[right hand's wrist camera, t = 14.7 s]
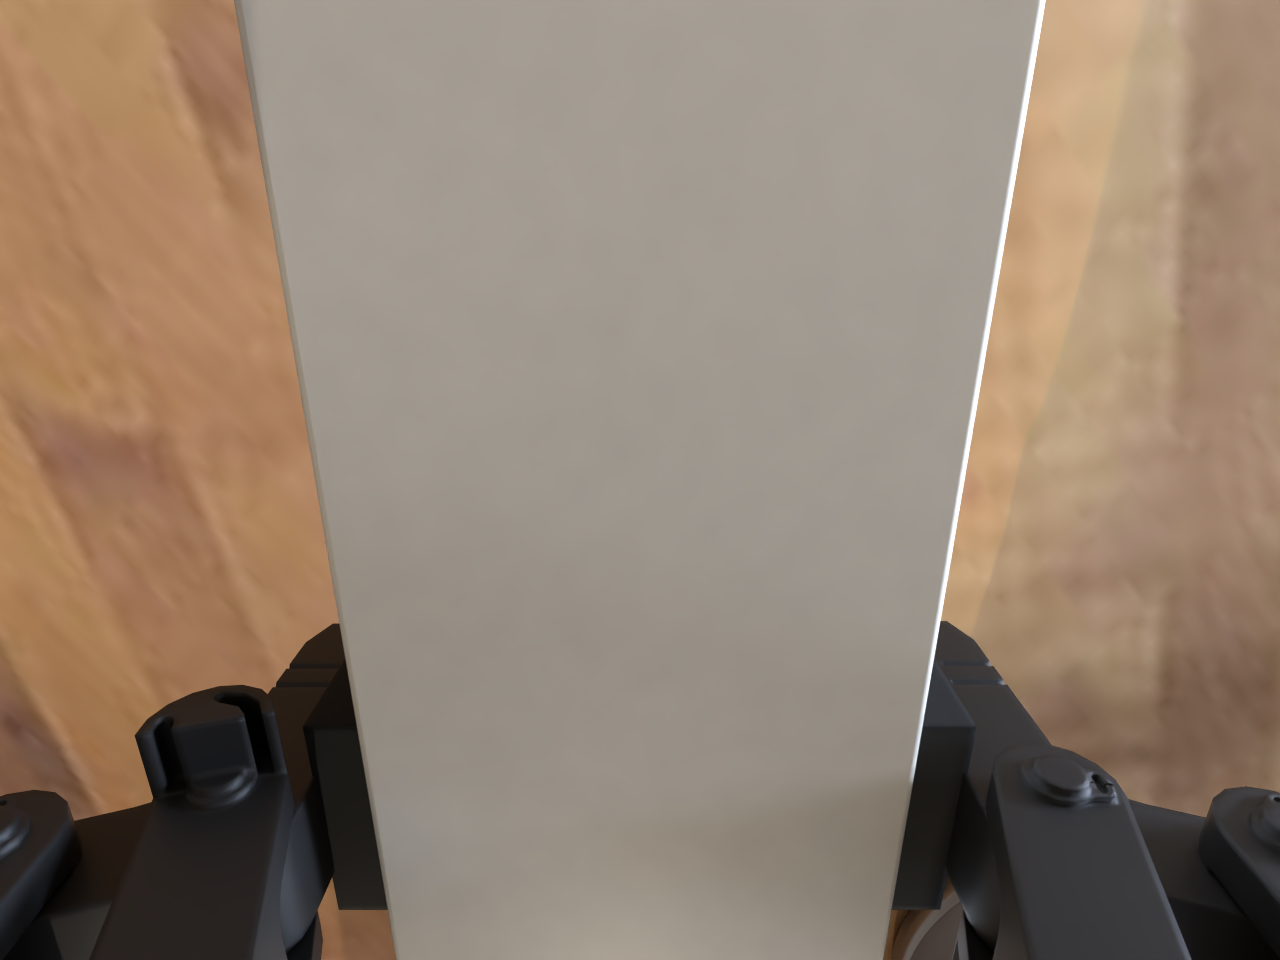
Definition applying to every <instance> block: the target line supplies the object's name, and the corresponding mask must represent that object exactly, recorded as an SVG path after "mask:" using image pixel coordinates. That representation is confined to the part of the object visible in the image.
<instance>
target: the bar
mask: <svg viewBox="0 0 1280 960" xmlns="http://www.w3.org/2000/svg"><path fill="white" fill-rule="evenodd" d="M234 3H235V9H236V14H237V20H238V26H239V32H240V38H241V44H242V50H243V56H244V62H245V68H246V74H247V79H248V85H249V91H250V97H251V103H252V109H253V115H254V121H255V127H256V133H257V139H258V145H259V150H260V156H261V162H262V168H263V174H264V180H265V186H266V192H267V198H268V204H269V210H270V215H271V221H272V227H273V233H274V239H275V245H276V251H277V257H278V263H279V269H280V275H281V280H282V286H283V292H284V298H285V304H286V310H287V316H288V322H289V328H290V334H291V340H292V345H293V351H294V357H295V363H296V369H297V375H298V381H299V387H300V393H301V399H302V405H303V411H304V416H305V422H306V428H307V434H308V440H309V446H310V452H311V458H312V464H313V470H314V476H315V481H316V487H317V493H318V499H319V505H320V511H321V517H322V523H323V529H324V535H325V541H326V546H327V552H328V558H329V564H330V570H331V576H332V582H333V588H334V594H335V600H336V606H337V611H338V617H339V623H340V629H341V635H342V641H343V647H344V653H345V659H346V665H347V671H348V677H349V682H350V688H351V694H352V700H353V706H354V712H355V718H356V724H357V730H358V736H359V742H360V747H361V753H362V759H363V765H364V771H365V777H366V783H367V789H368V795H369V801H370V807H371V812H372V818H373V824H374V830H375V836H376V842H377V848H378V854H379V860H380V866H381V872H382V878H383V883H384V889H385V895H386V901H387V907H388V913H389V919H390V925H391V931H392V937H393V943H394V948H395V954H396V960H883V956H884V951H885V945H886V939H887V933H888V927H889V921H890V915H891V909H892V903H893V897H894V892H895V886H896V880H897V874H898V868H899V862H900V856H901V850H902V844H903V838H904V832H905V827H906V821H907V815H908V809H909V803H910V797H911V791H912V785H913V779H914V773H915V768H916V762H917V756H918V750H919V744H920V738H921V732H922V726H923V720H924V714H925V708H926V703H927V697H928V691H929V685H930V679H931V673H932V667H933V661H934V655H935V649H936V644H937V638H938V632H939V626H940V620H941V614H942V608H943V602H944V596H945V590H946V584H947V579H948V573H949V567H950V561H951V555H952V549H953V543H954V537H955V531H956V525H957V520H958V514H959V508H960V502H961V496H962V490H963V484H964V478H965V472H966V466H967V460H968V455H969V449H970V443H971V437H972V431H973V425H974V419H975V413H976V407H977V401H978V396H979V390H980V384H981V378H982V372H983V366H984V360H985V354H986V348H987V342H988V336H989V331H990V325H991V319H992V313H993V307H994V301H995V295H996V289H997V283H998V277H999V272H1000V266H1001V260H1002V254H1003V248H1004V242H1005V236H1006V230H1007V224H1008V218H1009V212H1010V207H1011V201H1012V195H1013V189H1014V183H1015V177H1016V171H1017V165H1018V159H1019V153H1020V148H1021V142H1022V136H1023V130H1024V124H1025V118H1026V112H1027V106H1028V100H1029V94H1030V88H1031V83H1032V77H1033V71H1034V65H1035V59H1036V53H1037V47H1038V41H1039V35H1040V29H1041V24H1042V18H1043V12H1044V6H1045V0H234Z"/></svg>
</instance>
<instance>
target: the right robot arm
mask: <svg viewBox="0 0 1280 960" xmlns="http://www.w3.org/2000/svg"><path fill="white" fill-rule="evenodd" d="M135 738H136V741H137V745H138V748H139V751H140V755H141V758H142V761H143V765H144V768H145V771H146V775H147V778H148V781H149V785H150V788H151V792H152V795H153V800H152V802H151V803H147V804H144V805H141V806H137V807H134V808H129V809H125V810H120V811H116V812H112V813H107V814H103V815H98V816H94V817H90V818H85V819H81V820H76V821H74V820H73V817H72V814H71V811H70V808H69V805H68V803H67V801H66V800H64V799H63V798H62V797H61V796H59V795H58V794H57V793H55V792H48V791H39V790H30V791H24V792H18V793H12V794H6V795H3V796H1V797H0V960H321V953H322V943H323V938H322V931H321V925H320V920H319V915H318V907H319V905H320V903H321V901H322V898H323V896H324V894H325V892H326V889H327V887H328V885H329V883H330V881H331V878H332V877H333V882H334V887H335V892H336V897H337V902H338V907H339V910H388V907H387V901H386V895H385V889H384V883H383V878H382V872H381V866H380V860H379V854H378V848H377V842H376V836H375V830H374V824H373V818H372V812H371V807H370V801H369V795H368V789H367V783H366V777H365V771H364V765H363V759H362V753H361V747H360V742H359V736H358V730H357V724H356V718H355V712H354V706H353V700H352V694H351V688H350V682H349V677H348V671H347V665H346V659H345V653H344V647H343V641H342V635H341V629H340V624H332V625H330V626H329V627H327V628H326V629H325V630H323V631H322V632H320V633H319V634H317V635H316V636H314V637H313V638H312V639H310V640H309V641H307V642H306V643H305V644H304V646H303V647H302V648H301V650H300V651H299V652H298V654H297V655H296V657H295V658H294V659H293V661H292V662H291V663H290V668H289V669H286V670H285V672H284V673H283V674H282V676H281V677H280V678H279V680H278V681H277V682H276V687H273V688H272V689H271V691H270V692H269V693H268V694H267V693H265V692H264V691H263V690H262V689H259V688H254V687H250V686H245V685H233V686H218V687H214V688H210V689H207V690H203V691H199V692H195V693H192V694H190V695H187V696H185V697H183V698H181V699H179V700H176V701H174V702H172V703H170V704H168V705H166V706H165V707H164V708H162V709H161V710H159V711H158V712H157V713H155V714H154V715H153V716H151V717H150V718H148V719H147V720H146V722H145V723H144V724H143V725H142V727H141V728H140V729H139V731H138V732H137V733H136V734H135ZM891 910H910V912H909V913H908V914H907V916H906V918H905V919H904V921H903V923H902V925H901V927H900V929H899V932H898V934H897V937H896V939H895V943H894V947H893V952H892V960H1280V793H1278V792H1275V791H1271V790H1265V789H1258V788H1252V787H1238V788H1230V789H1225V790H1223V791H1222V792H1221V793H1219V794H1218V795H1217V796H1216V797H1214V798H1213V800H1212V803H1211V806H1210V809H1209V812H1208V815H1207V817H1206V818H1204V817H1200V816H1196V815H1191V814H1187V813H1182V812H1178V811H1174V810H1169V809H1165V808H1160V807H1156V806H1151V805H1147V804H1143V803H1140V802H1136V801H1133V800H1130V799H1127V796H1126V795H1125V794H1124V792H1123V791H1122V789H1121V788H1120V786H1119V785H1118V783H1117V782H1116V780H1115V779H1114V778H1113V777H1111V776H1110V775H1109V774H1108V773H1107V772H1105V771H1104V770H1103V769H1102V768H1100V767H1099V766H1098V765H1097V764H1096V763H1094V762H1092V761H1090V760H1088V759H1086V758H1084V757H1082V756H1080V755H1078V754H1076V753H1074V752H1072V751H1069V750H1066V749H1062V748H1059V747H1055V746H1052V745H1051V744H1050V742H1049V741H1048V739H1047V738H1046V737H1045V735H1044V734H1043V733H1042V731H1041V730H1040V729H1039V727H1038V726H1037V725H1036V723H1035V722H1034V721H1033V719H1032V718H1031V716H1030V715H1029V714H1028V712H1027V711H1026V710H1025V708H1024V707H1023V706H1022V704H1021V703H1020V702H1019V700H1018V699H1017V698H1016V696H1015V695H1014V693H1013V692H1012V691H1011V689H1010V688H1009V687H1008V685H1004V680H1003V679H1002V677H1001V676H1000V675H999V673H998V672H997V670H996V669H995V668H994V666H990V661H989V660H988V658H987V657H986V656H985V654H984V653H983V652H982V650H981V649H980V647H979V646H978V645H977V643H976V642H975V641H974V640H973V639H972V638H970V637H969V636H967V635H966V634H964V633H963V632H962V631H960V630H959V629H957V628H956V627H954V626H953V625H951V624H950V623H948V622H947V621H940V626H939V632H938V638H937V644H936V649H935V655H934V661H933V667H932V673H931V679H930V685H929V691H928V697H927V703H926V708H925V714H924V720H923V726H922V732H921V738H920V744H919V750H918V756H917V762H916V768H915V773H914V779H913V785H912V791H911V797H910V803H909V809H908V815H907V821H906V827H905V832H904V838H903V844H902V850H901V856H900V862H899V868H898V874H897V880H896V886H895V892H894V897H893V903H892V909H891Z"/></svg>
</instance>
